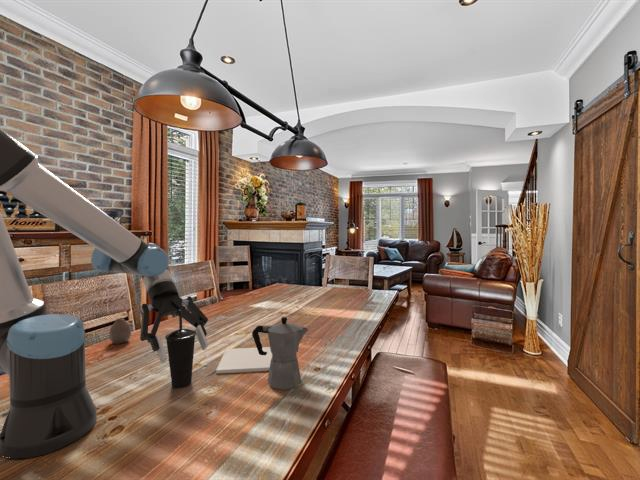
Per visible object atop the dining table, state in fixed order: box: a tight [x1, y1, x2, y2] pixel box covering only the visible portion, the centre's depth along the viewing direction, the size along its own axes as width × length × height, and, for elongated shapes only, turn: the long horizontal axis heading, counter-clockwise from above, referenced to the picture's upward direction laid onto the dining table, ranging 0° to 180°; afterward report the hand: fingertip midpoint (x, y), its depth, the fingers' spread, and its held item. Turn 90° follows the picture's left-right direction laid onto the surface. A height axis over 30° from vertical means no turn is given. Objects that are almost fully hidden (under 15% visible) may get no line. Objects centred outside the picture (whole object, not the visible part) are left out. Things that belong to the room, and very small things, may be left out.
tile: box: [215, 346, 272, 374], centre depth 98 cm, size 16×16×1 cm
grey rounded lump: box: [108, 317, 132, 345], centre depth 114 cm, size 7×7×9 cm
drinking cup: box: [164, 310, 197, 389], centre depth 83 cm, size 8×8×20 cm
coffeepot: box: [251, 316, 309, 391], centre depth 84 cm, size 15×9×18 cm, turn 89°
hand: (186, 353), depth 81 cm, fingers open, 10 cm apart
